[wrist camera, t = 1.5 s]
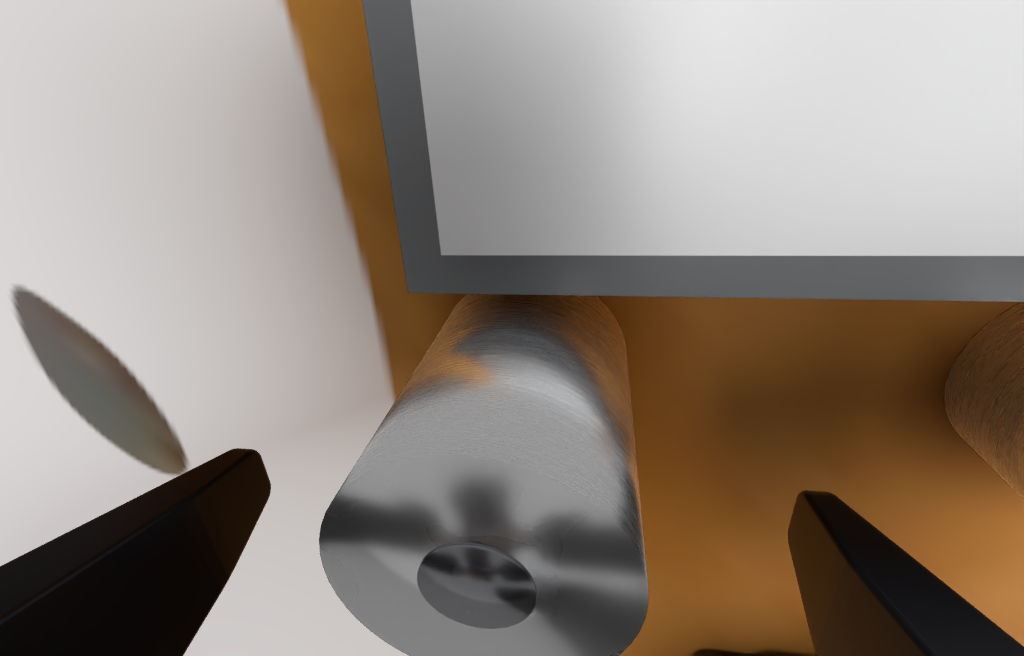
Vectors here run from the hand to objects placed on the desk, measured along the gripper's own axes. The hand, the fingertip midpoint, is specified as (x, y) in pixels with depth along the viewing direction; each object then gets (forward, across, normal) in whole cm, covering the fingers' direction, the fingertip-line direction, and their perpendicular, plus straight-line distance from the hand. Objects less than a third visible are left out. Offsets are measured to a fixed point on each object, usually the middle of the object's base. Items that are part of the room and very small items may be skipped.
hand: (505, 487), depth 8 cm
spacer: (+4, 0, 0) cm, 4 cm away
